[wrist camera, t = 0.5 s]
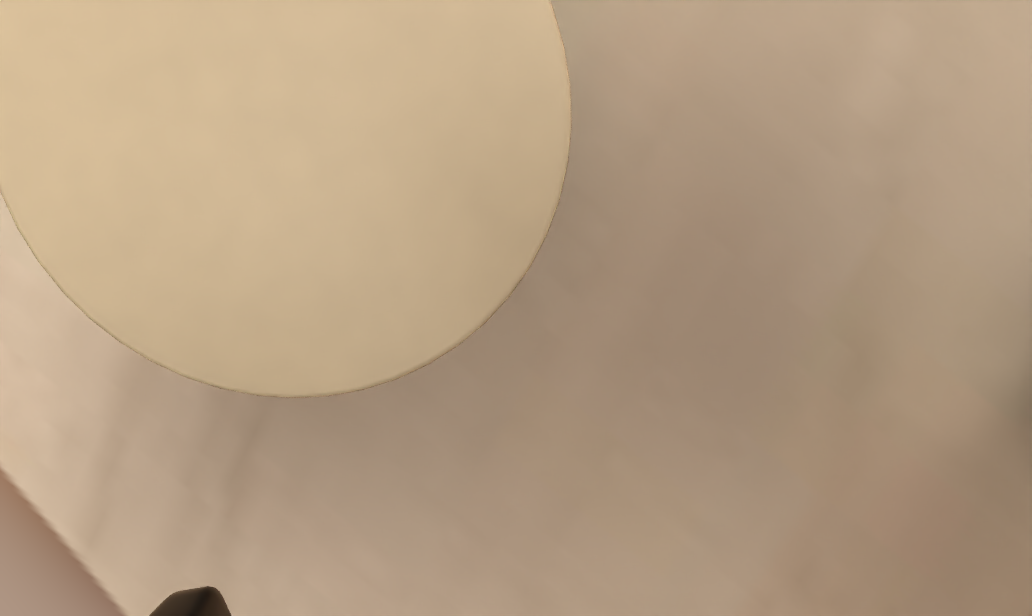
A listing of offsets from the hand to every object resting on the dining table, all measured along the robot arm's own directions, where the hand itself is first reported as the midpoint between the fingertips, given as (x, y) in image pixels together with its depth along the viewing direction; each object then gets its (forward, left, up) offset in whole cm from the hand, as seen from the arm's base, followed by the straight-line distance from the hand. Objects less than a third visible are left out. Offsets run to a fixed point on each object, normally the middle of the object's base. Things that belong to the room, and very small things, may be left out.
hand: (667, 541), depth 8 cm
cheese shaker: (+5, +4, -14) cm, 16 cm away
